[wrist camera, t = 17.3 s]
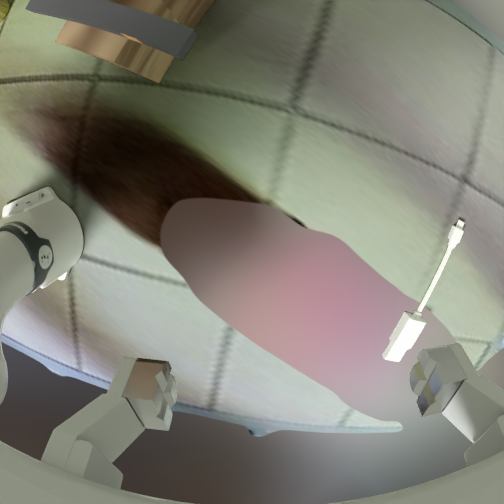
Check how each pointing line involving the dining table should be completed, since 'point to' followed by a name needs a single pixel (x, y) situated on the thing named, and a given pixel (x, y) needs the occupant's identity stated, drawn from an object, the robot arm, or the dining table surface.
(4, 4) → the vase
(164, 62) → the stand
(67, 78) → the dining table surface
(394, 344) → the charging cable
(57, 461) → the robot arm
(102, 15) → the bar
